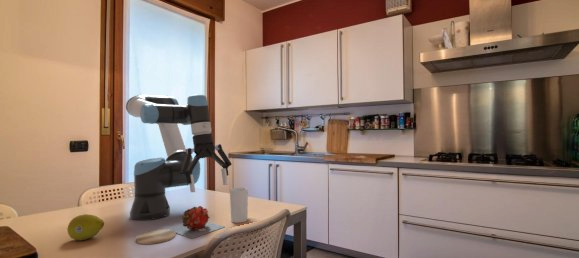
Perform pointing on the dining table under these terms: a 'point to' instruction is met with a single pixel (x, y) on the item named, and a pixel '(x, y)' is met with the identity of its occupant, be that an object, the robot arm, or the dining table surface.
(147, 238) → the coaster
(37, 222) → the dining table surface
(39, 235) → the dining table surface
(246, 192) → the mug
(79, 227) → the green mango
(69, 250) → the dining table surface
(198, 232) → the grey square tile
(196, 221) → the dragon fruit
